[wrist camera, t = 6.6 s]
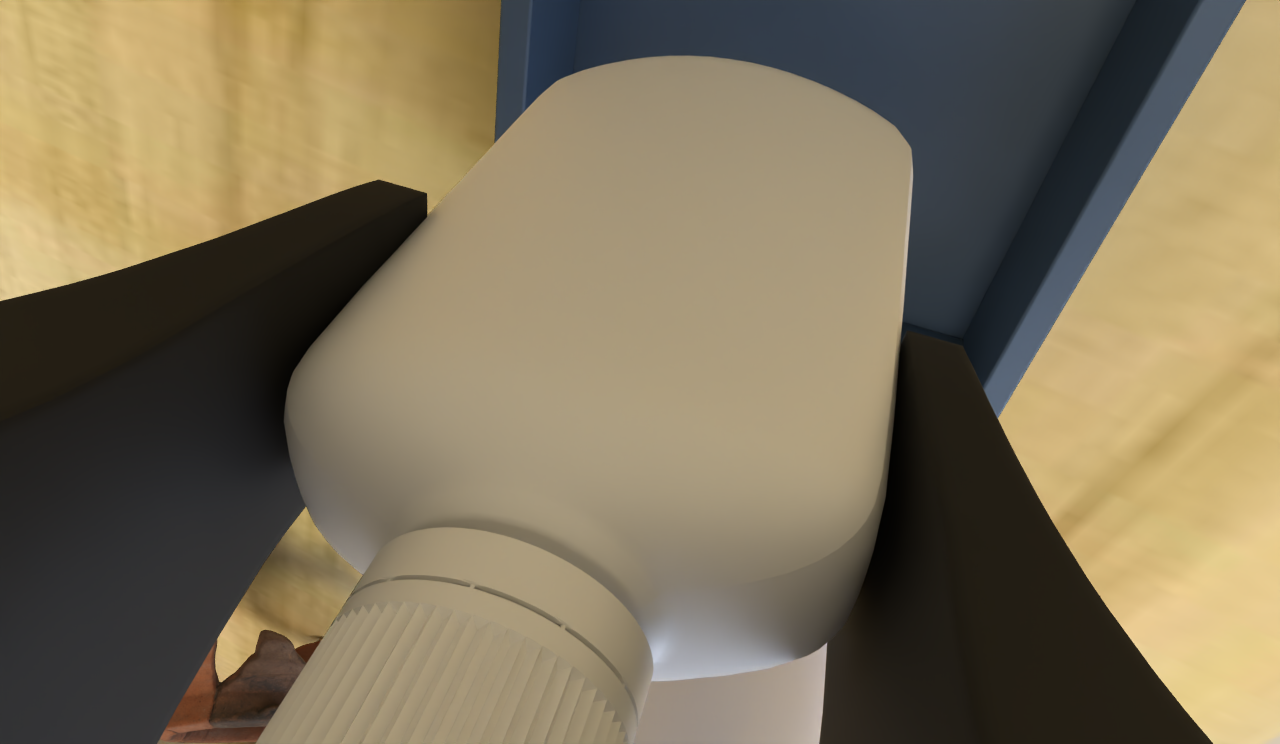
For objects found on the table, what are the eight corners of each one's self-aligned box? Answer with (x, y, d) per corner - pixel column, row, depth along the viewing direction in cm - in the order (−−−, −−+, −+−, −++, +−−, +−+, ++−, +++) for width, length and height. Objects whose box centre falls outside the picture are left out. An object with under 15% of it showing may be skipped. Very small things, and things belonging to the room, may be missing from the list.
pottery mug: (326, 475, 32) (303, 715, 29) (423, 542, 41) (414, 734, 37) (28, 511, 34) (-31, 745, 30) (181, 569, 42) (150, 757, 38)
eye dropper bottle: (779, 348, 15) (540, 1314, 6) (508, 160, 15) (-205, 973, 6) (965, 167, 13) (999, 1434, 4) (643, -79, 12) (-362, 786, 3)
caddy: (976, 352, 21) (980, 450, 19) (540, 226, 22) (485, 302, 20) (1349, -345, 13) (1452, -343, 10) (605, -491, 14) (524, -525, 11)
